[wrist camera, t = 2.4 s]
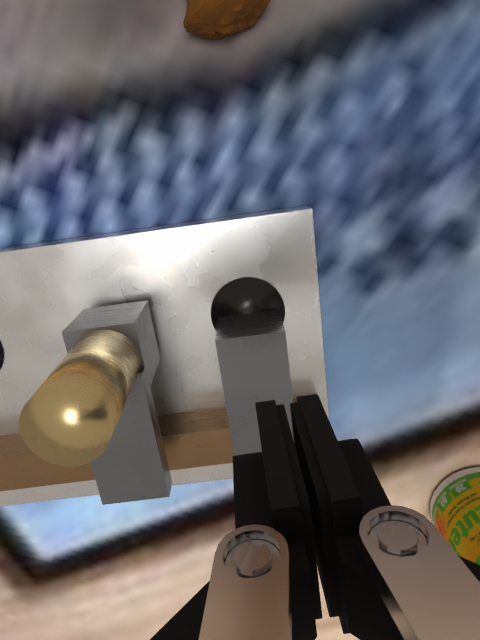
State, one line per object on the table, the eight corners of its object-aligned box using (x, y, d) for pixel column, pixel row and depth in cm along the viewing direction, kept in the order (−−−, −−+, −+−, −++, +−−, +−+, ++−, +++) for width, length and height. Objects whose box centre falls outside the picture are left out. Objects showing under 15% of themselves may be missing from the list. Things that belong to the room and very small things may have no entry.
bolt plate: (307, 205, 22) (324, 217, 18) (327, 449, 27) (345, 505, 23) (-194, 275, 23) (-291, 302, 19) (-88, 500, 28) (-147, 563, 23)
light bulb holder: (148, 297, 22) (100, 379, 14) (179, 441, 24) (153, 578, 16) (86, 306, 22) (3, 392, 14) (123, 448, 24) (71, 588, 16)
